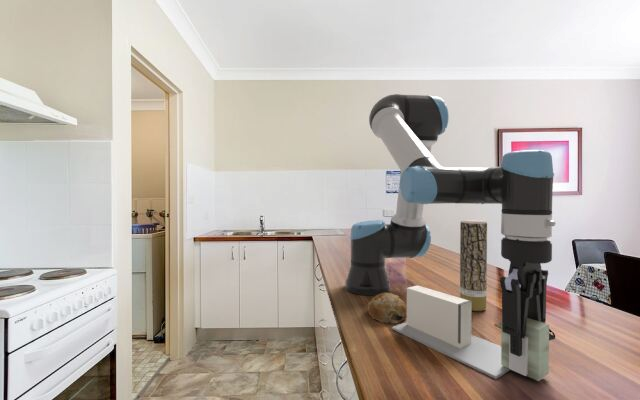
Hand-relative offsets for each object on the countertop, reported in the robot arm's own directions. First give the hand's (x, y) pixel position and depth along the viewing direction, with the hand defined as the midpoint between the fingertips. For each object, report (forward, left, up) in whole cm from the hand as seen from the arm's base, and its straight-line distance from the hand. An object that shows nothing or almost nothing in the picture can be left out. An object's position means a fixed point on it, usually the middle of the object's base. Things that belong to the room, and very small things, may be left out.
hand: (524, 367), depth 54 cm
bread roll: (-33, -1, -2) cm, 33 cm away
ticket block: (-15, 0, -1) cm, 15 cm away
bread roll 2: (-8, +20, -2) cm, 21 cm away
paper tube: (-23, +24, -1) cm, 33 cm away
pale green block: (0, 0, 0) cm, 0 cm away
